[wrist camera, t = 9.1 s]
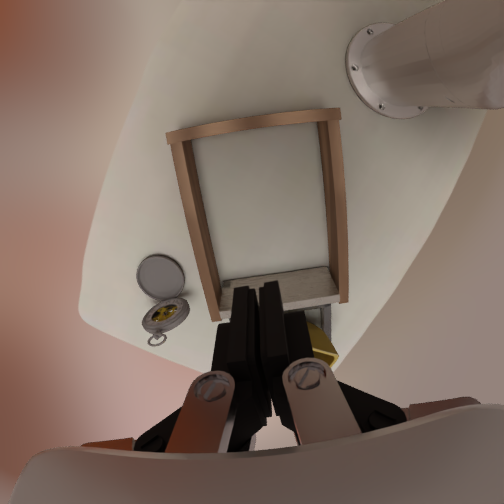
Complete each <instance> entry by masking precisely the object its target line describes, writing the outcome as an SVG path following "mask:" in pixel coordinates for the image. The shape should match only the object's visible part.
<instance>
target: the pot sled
mask: <svg viewBox="0 0 504 504" xmlns="http://www.w3.org/2000/svg"><path fill="white" fill-rule="evenodd" d="M276 280H278V282H279V287H280V293H281V298H282V303H283V309H284V313H291V312H296V311H302V310H311V309H317V308H321V324H322V330H323V331H324V332H325V334H326V335H327V336H328V338H329V339H330V341H331V303H336V302H340V294H339V292H338V290H337V288H336V285H335V283H334V281H333V279H332V277H331V275H330V273H329V271H328V269H327V267H319V268H313V269H306V270H299V271H293V272H286V273H279V274H272V275H265V276H258V277H251V278H244V279H236V280H229V281H223V287H222V295H221V302H220V310H219V313H220V317H221V319H225V318H229V320H231V310H232V301H233V291H234V288H235V287H241V286H247V285H248V286H249V288H250V289H252V288H255V291H256V295H257V299H258V303H259V287H264V283H265V282H270V281H276Z"/></svg>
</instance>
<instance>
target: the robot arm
mask: <svg viewBox="0 0 504 504" xmlns="http://www.w3.org/2000/svg"><path fill="white" fill-rule="evenodd" d="M367 32H368V33H369V34H367ZM352 67H353V68H354V69H355V70H354V71H353V70H352ZM346 69H347V74H348V77H349V80H350V83H351V85H352V87H353V89H354V90H355V92H356V93H357V95H358V96H359V98H360V99H361V100H362V101H363V102H364V103H365V104H366V105H367V106H369V107H370V108H371V109H373V110H374V111H375V112H377V113H379V114H381V115H383V116H387V117H390V118H396V119H408V118H413V117H416V116H418V115H420V114H422V113H423V112H424V111H426V110H427V109H428V108H429V107H458V108H474V109H501V108H504V0H445V1H443V2H441V3H438V4H436V5H434V6H432V7H430V8H428V9H426V10H424V11H422V12H420V13H418V14H416V15H414V16H412V17H410V18H408V19H406V20H404V21H402V22H400V23H398V24H392V23H375V24H371V25H369V26H367V27H365V28H363V29H362V30H360V31H359V32H358V33H357V34H356V35H355V36H354V37H353V38H352V40H351V42H350V44H349V46H348V49H347V53H346ZM379 105H380V106H381V108H380V109H379ZM271 399H272V402H273V406H274V410H275V413H276V416H280V419H281V423H282V425H283V426H285V427H287V428H288V429H290V430H292V431H293V432H294V435H295V438H296V442H297V445H298V446H293V447H285V448H278V449H268V450H258V451H254V448H255V443H256V435H255V433H256V432H258V431H259V430H260V429H261V428H262V427H263V426H267V419H266V418H267V417H272V405H271ZM8 504H504V405H500V404H481V403H480V402H478V401H477V400H476V399H474V398H471V397H459V398H453V399H447V400H440V401H434V402H426V403H418V404H410V405H409V408H400V407H398V406H397V405H395V404H393V403H390V402H387V401H385V400H383V399H380V398H377V397H375V396H373V395H370V394H368V393H365V392H363V391H361V390H358V389H356V388H354V387H351V386H349V385H347V384H344V383H342V382H339V381H337V380H336V378H335V376H334V374H333V372H332V370H331V368H330V367H329V365H328V364H327V363H326V362H324V361H323V360H320V359H317V358H314V353H313V348H312V344H311V339H310V335H309V330H308V326H307V321H306V317H305V312H304V310H302V311H296V312H291V313H285V314H284V309H283V303H282V298H281V293H280V287H279V282H278V280H276V281H270V282H265V283H264V287H259V303H258V299H257V295H256V291H255V288H252V289H250V288H249V286H248V285H247V286H241V287H235V288H234V291H233V301H232V310H231V320H230V322H229V323H222V324H219V325H218V328H217V334H216V341H215V347H214V354H213V361H212V368H211V371H210V372H207V373H204V374H202V375H200V376H199V377H197V378H196V379H195V380H194V381H193V382H192V384H191V386H190V388H189V390H188V393H187V395H186V398H185V401H184V403H183V406H182V407H180V408H179V409H177V410H176V411H175V412H173V413H172V414H171V415H169V416H168V417H166V418H165V419H164V420H162V421H161V422H159V423H158V424H156V425H155V426H154V427H152V428H151V429H150V430H148V431H146V432H145V433H143V434H142V435H141V436H140V437H139V438H138V439H137V440H134V439H133V438H132V437H131V438H125V439H117V440H109V441H100V442H90V443H85V444H83V445H81V446H69V447H58V448H53V449H48V450H44V451H41V452H39V453H37V454H35V455H34V456H33V457H32V458H31V459H30V460H29V461H28V463H27V464H26V466H25V467H24V469H23V470H22V472H21V474H20V477H19V478H18V480H17V483H16V485H15V487H14V490H13V492H12V495H11V497H10V500H9V503H8Z"/></svg>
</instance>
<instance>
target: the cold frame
mask: <svg viewBox="0 0 504 504" xmlns="http://www.w3.org/2000/svg"><path fill="white" fill-rule="evenodd" d="M339 120H341V112H340V108H327V109H314V110H302V111H292V112H283V113H275V114H267V115H259V116H252V117H245V118H239V119H233V120H227V121H221V122H215V123H210V124H205V125H200V126H195V127H190V128H185V129H181V130H176V131H172V132H167V133H166V138H167V143H168V144H170V146H171V151H172V156H173V161H174V166H175V171H176V175H177V180H178V185H179V190H180V194H181V199H182V203H183V208H184V212H185V217H186V221H187V225H188V230H189V234H190V238H191V242H192V247H193V251H194V255H195V259H196V263H197V267H198V271H199V275H200V279H201V283H202V286H203V290H204V294H205V298H206V302H207V305H208V309H209V313H210V316H211V320H212V322H215V321H222V319H221V317H220V313H219V310H220V302H221V295H222V288H221V284H220V279H219V275H218V271H217V266H216V262H215V257H214V253H213V248H212V244H211V239H210V234H209V230H208V225H207V220H206V215H205V210H204V206H203V201H202V196H201V191H200V186H199V181H198V176H197V171H196V165H195V160H194V155H193V150H192V144H191V140H192V139H196V138H202V137H207V136H212V135H218V134H223V133H229V132H235V131H242V130H248V129H255V128H262V127H269V126H277V125H286V124H295V123H304V122H315V121H317V127H318V135H319V143H320V152H321V161H322V171H323V181H324V192H325V204H326V217H327V231H328V248H329V268H330V275H331V277H332V279H333V281H334V283H335V285H336V288H337V290H338V292H339V294H340V302H339V304H341V303H347V302H348V293H349V275H348V231H347V209H346V192H345V178H344V166H343V155H342V145H341V136H340V127H339Z"/></svg>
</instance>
